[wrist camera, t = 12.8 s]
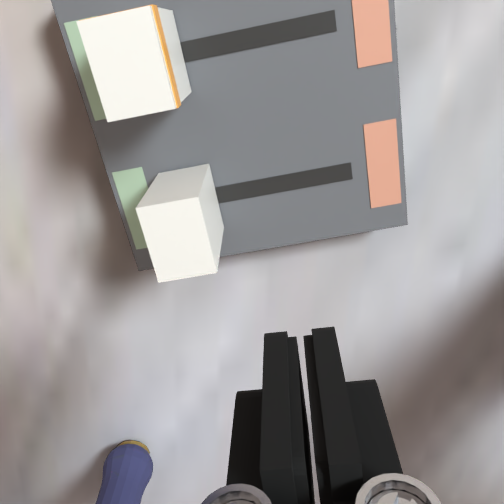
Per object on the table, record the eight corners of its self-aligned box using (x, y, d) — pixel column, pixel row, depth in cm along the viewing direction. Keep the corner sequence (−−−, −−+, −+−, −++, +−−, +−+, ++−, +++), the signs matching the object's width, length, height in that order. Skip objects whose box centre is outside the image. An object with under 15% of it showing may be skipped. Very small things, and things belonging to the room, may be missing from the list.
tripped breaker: (173, 9, 24) (150, 3, 19) (192, 92, 26) (176, 109, 21) (114, 22, 25) (74, 20, 19) (137, 103, 26) (106, 123, 21)
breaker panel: (374, -73, 26) (433, -123, 17) (394, 208, 32) (444, 271, 24) (68, -5, 27) (-15, -20, 19) (148, 251, 34) (113, 325, 25)
